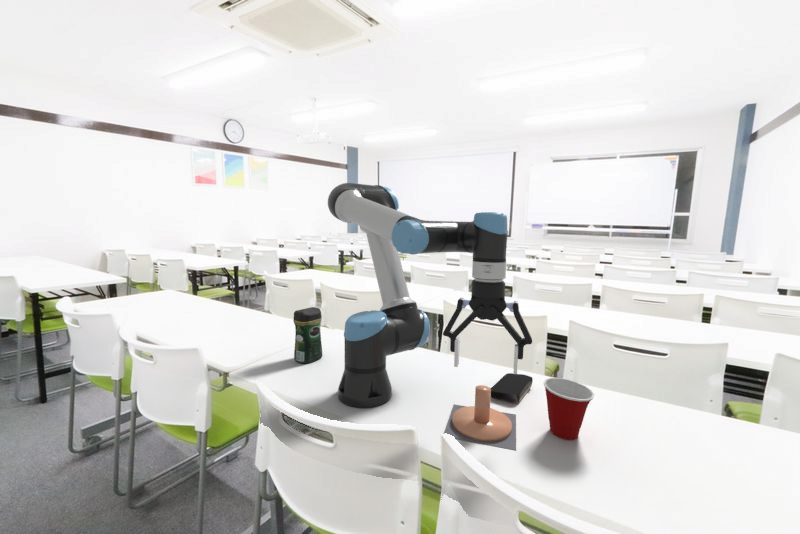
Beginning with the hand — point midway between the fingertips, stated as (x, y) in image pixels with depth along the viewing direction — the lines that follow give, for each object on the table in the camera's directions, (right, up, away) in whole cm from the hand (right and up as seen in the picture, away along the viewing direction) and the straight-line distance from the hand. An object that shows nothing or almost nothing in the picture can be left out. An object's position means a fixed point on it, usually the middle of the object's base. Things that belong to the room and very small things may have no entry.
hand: (485, 368), depth 87 cm
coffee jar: (-53, -9, +44) cm, 70 cm away
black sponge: (+13, -13, +21) cm, 28 cm away
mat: (0, -15, +2) cm, 15 cm away
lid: (0, -14, +2) cm, 14 cm away
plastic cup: (+19, -16, -1) cm, 24 cm away
